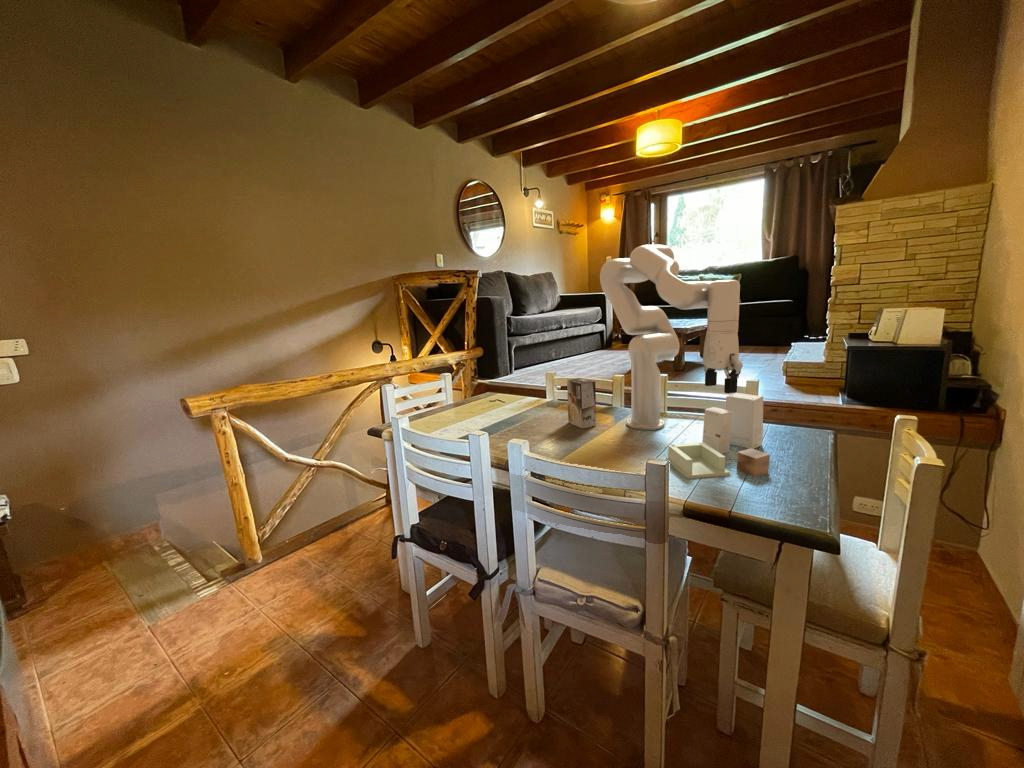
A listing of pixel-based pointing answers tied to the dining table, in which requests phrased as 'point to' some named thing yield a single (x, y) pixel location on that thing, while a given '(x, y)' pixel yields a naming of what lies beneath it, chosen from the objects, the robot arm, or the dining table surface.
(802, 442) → the dining table surface
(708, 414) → the skincare box
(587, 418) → the coffee box
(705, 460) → the u rest
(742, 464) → the walnut block
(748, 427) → the skincare box
